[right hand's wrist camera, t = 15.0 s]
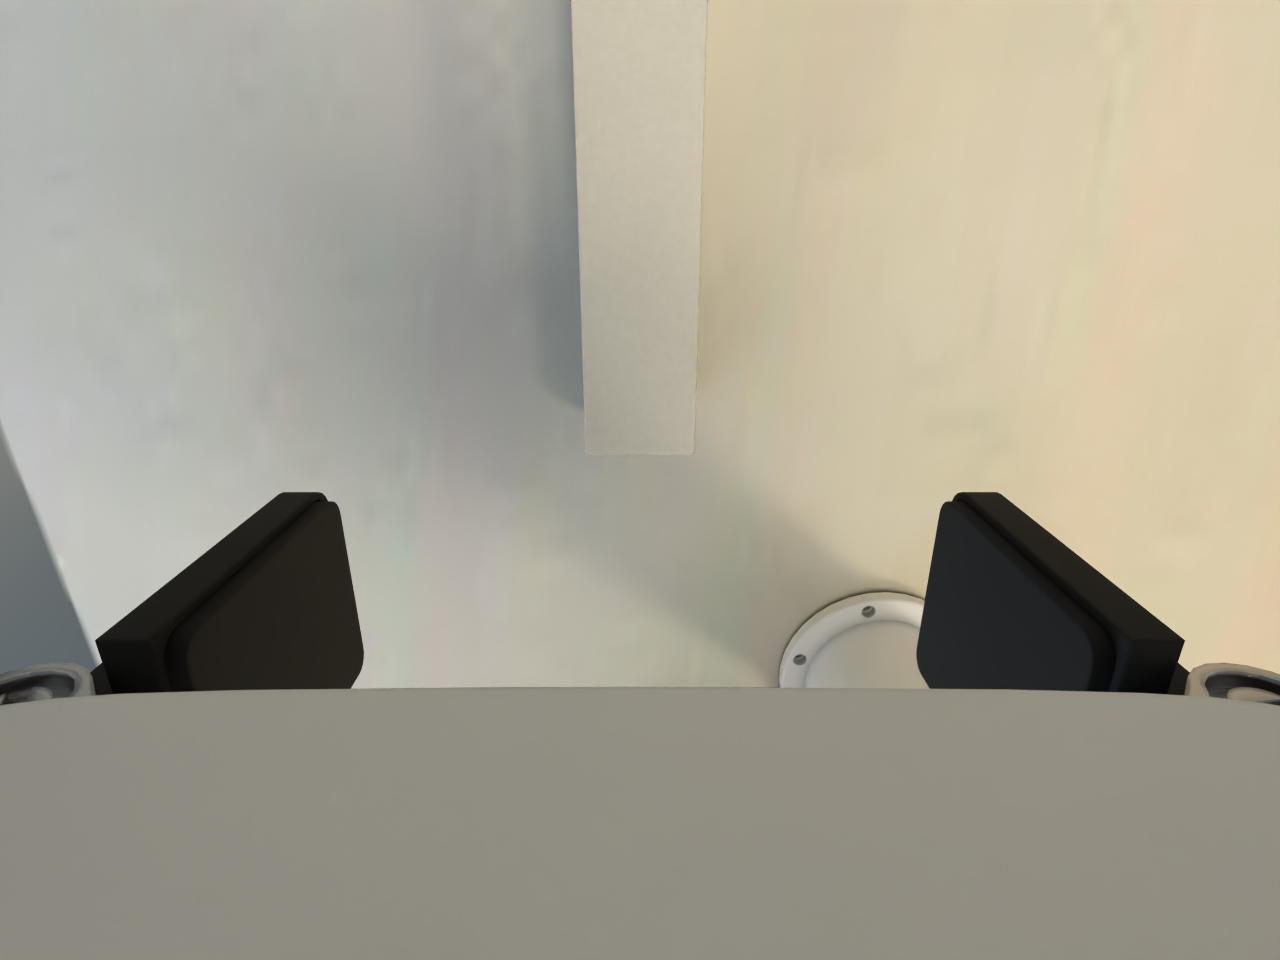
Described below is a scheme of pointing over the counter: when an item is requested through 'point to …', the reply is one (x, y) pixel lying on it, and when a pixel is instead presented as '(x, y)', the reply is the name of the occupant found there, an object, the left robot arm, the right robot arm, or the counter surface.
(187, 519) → the counter surface
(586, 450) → the beam
